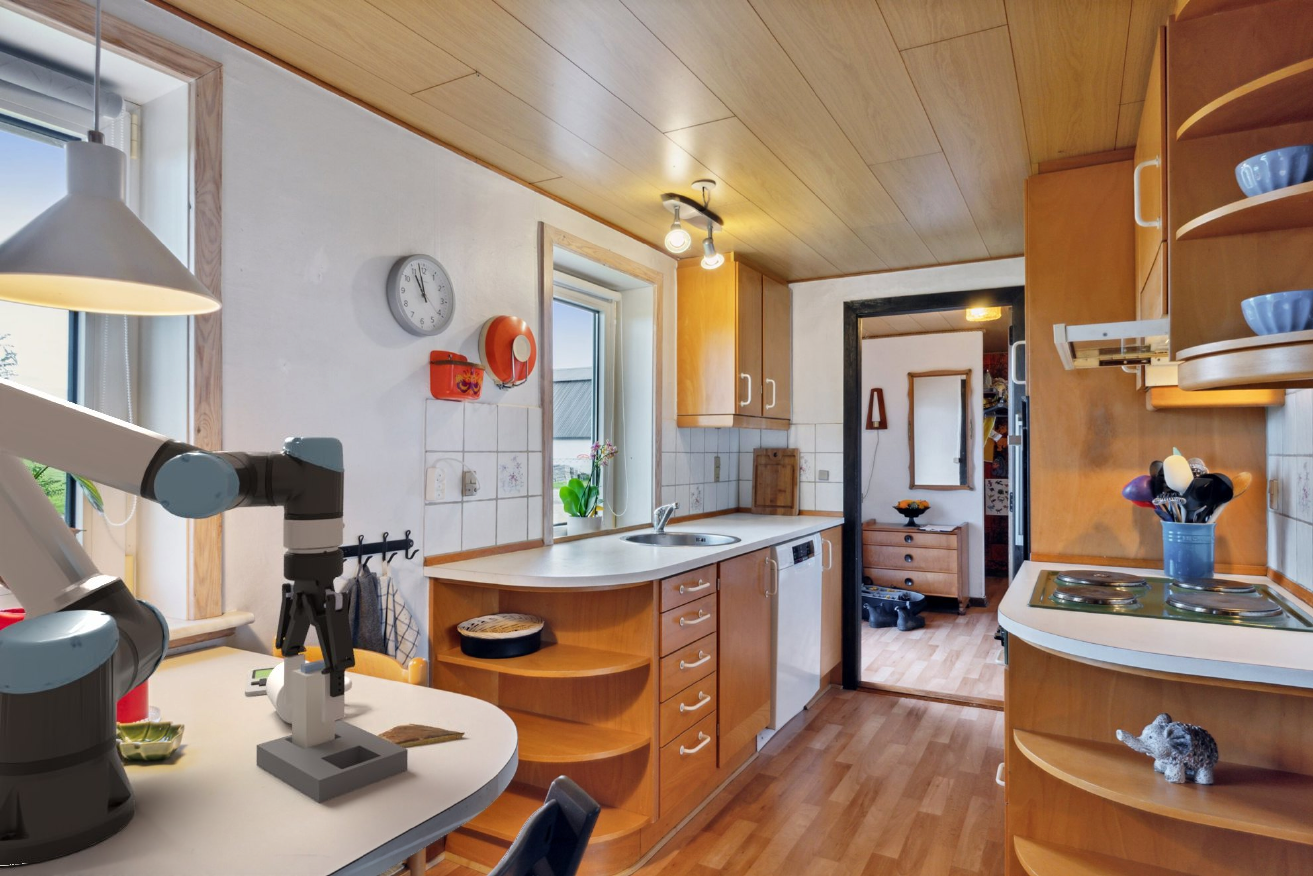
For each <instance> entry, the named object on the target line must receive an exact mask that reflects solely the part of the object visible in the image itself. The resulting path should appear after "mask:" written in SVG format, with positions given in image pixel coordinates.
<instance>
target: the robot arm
mask: <svg viewBox="0 0 1313 876" xmlns="http://www.w3.org/2000/svg"><path fill="white" fill-rule="evenodd" d="M283 442H284V445H283V447H282V450H276V451H243V450H242V451H240V450H239V451H231V450H229V451H227V450H223V451H221V450H206V449H204V448H202V447H201V448H200V447H199V446H195V445H192V444H189V443H186V442H184V441H181V440H177V439H175V438H172V437H170V436H166V435H164V434H160V433H157V432H155V431H152V430H149V429H147V428H144V427H142V426H141V427H140V426H138V425H135V424H133V423H129V422H126V421H124V420H121V419H119V418H115V417H112V416H109V415H107V414H104V413H101V412H98V411H96V410H92V409H89V408H88V407H84V406H81V405H78V404H75V403H74V402H69V401H67V400H65V399H62V398H58V397H56V396H52V395H50V394H47V393H45V392H42V391H38V390H36V389H33V388H30V387H27V386H24V385H22V384H18V383H17V382H13V381H10V380H8V379H5V378H3V377H2V378H1V377H0V578H1V579H2V580H3V582H4V583H5V585H6V586H7V587H8V588H9V591H10V592H11V593H12V594H13V595H14V597H15V599H16V601H17V602H18V603H19V604H20V605H21V607H22V608H23V611H24V613H25V615H24V617H23V620H19V621H17V622H14V623H12V624H10V625H8V626H5V627H4V628H2V629H1V630H0V865H10V864H11V865H12V864H14V865H15V864H22V863H29V864H35V863H39V861H40V862H44V861H47V860H51V859H52V860H53V859H55V858H59V857H63V856H65V855H68V854H72V853H75V852H77V851H80V850H83V849H86V848H88V847H91V846H93V845H95V844H97V843H99V842H101V841H103V840H107V838H109V837H111V836H113V835H114V834H116V833H117V832H119V831H120V830H122V829H123V828H124V827H125V826H126V825H128V823H130V822H131V821H132V819H133V817H134V814H135V794H134V793H135V791H134V789H133V787H132V786H133V785H131V782H130V779H129V777H128V774H127V772H126V769H125V767H124V765H123V763H122V760H121V757H120V756H119V753H118V749H117V728H118V727H117V723H118V722H117V717H118V716H117V713H118V711H117V710H118V709H117V707H118V705H117V704H118V702H119V701H120V700H121V699H122V698H123V697H125V696H126V695H128V693H129V694H130V692H131V691H132V690H134V689H136V688H138V687H140V686H141V685H143V684H144V683H145V682H147V681H148V680H149V678H150V677H151V676H153V674H155V671H156V670H157V669H158V668H159V666H160V665H161V663H162V662H163V660H164V659H165V657H166V655H167V652H168V649H169V645H170V628H169V625H168V622H167V620H166V618H165V616H164V615H163V613H162V612H161V610H159V609H158V608H157V607H156V606H155V605H153V604H152V603H150V602H148V601H145V600H144V599H143V600H142V599H139V598H136V597H134V594H133V593H132V592H131V591H130V589H129V587H128V586H127V585H126V583H125V581H123V579H122V578H121V577H120V576H116V575H111V574H110V575H109V574H104V573H102V572H100V570H99V568H98V567H97V565H96V564H95V562H93V560H92V558H91V557H90V556H89V554H88V553H87V552H86V550H85V549H84V547H83V546H82V544H81V543H80V541H79V539H78V538H77V537H76V536H75V534H74V533H73V531H72V529H71V528H70V527H69V525H68V524H67V522H66V520H65V519H64V518H63V517H62V515H61V514H60V513H59V510H57V508H56V506H54V504H53V502H52V501H51V499H50V498H49V496H48V495H47V494H46V492H45V491H44V490H43V488H42V487H41V485H40V484H39V482H38V481H37V479H36V478H35V477H34V475H33V474H32V473H31V471H30V469H29V468H28V466H27V464H26V463H25V462H24V460H27V461H31V462H33V463H36V464H39V465H43V466H45V467H49V468H51V469H53V470H54V469H55V470H57V471H60V472H64V473H67V474H70V475H73V476H75V477H76V476H77V477H79V478H81V479H86V480H88V481H91V482H94V483H97V484H100V485H104V486H107V487H110V488H112V489H116V490H119V491H122V492H126V493H128V494H131V495H134V496H137V497H140V498H143V499H146V500H148V501H151V502H152V503H153V502H154V503H156V504H159V505H161V507H162V508H163V509H164V510H166V512H168V513H169V514H171V515H174V516H176V517H179V518H184V519H193V520H201V519H208V518H211V517H214V516H217V515H219V514H221V513H223V512H227V511H230V510H234V509H237V508H257V507H258V508H260V507H261V508H262V507H283V512H284V513H283V523H282V525H283V526H282V527H283V534H282V535H283V537H282V538H283V541H282V542H283V543H282V545H283V548H285V549H287V551H285V553H284V554H283V578H284V579H286V580H287V581H291V582H286V583H282V585H281V604H280V612H279V616H278V617H279V618H278V625H277V630H276V638H275V646H274V648H275V649H276V650H281V651H280V653H281V655H282V657H283V662H284V704H285V705H288V704H292V671H293V670H298V669H301V664H305V660H306V654H305V653H306V652H307V651H308V649H307V648H306V646H305V641H306V639H307V637H308V636H307V635H308V633H309V629H310V626H312V627H314V628H315V632H316V635H317V640H318V645H319V648H320V650H321V651H320V652H321V654H322V660H324V663H325V667H326V668H325V669H324V670H322V671H321V673H322V722H324V723H327V722H330V721H334V720H335V721H336V720H337V721H338V720H340V719H344V718H345V697H346V696H345V695H346V694H345V693H346V692H345V677H346V673H345V672H346V670H348V669H350V668H354V667H355V666H356V658H355V657H356V656H355V650H354V645H353V644H354V643H353V639H352V632H351V625H350V619H349V611H348V608H349V607H348V606H349V605H348V603H349V596H348V592H347V591H344V592H343V591H342V592H336V589H335V583H334V581H335V579H336V578H339V577H340V576H341V577H342V575H343V574H344V551H343V550H342V548H339V547H341V546H342V545H343V544H344V529H345V525H346V524H345V522H344V501H345V499H344V498H345V497H344V496H345V495H344V491H345V468H344V467H345V466H344V451H343V443H342V442H341V441H340V439H338V438H335V437H332V436H331V437H327V436H324V437H323V436H317V437H316V436H314V437H313V436H310V437H309V436H308V437H306V436H305V437H303V436H301V437H297V436H296V437H295V436H290V437H287V438H286V439H285V440H284V441H283ZM23 459H24V460H23ZM304 652H305V653H304ZM34 862H35V863H34Z"/></svg>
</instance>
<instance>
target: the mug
mask: <svg viewBox="0 0 1313 876" xmlns="http://www.w3.org/2000/svg"><path fill="white" fill-rule="evenodd" d="M310 662H311V661H309V660H306V659H305V663H310ZM352 687H353V681H352V679H351V678H350V677H347V676H345V693H346V692H348V691H349V690H351V689H352ZM266 692H267V694H266V695H267V697H268V700H270V702H271V704H272V706H273V707H274V709H275V711H276V712H277V714H278V716H279V717H280V719H282V720H283V721H285V723H287V724H290V725H292V704H288V705H285V704H284V661H283V662H281V663H279V664H278V665H276V667H275V668H274V669H273V670H272V672H271V673H270V675H269V677H268V679H267V682H266Z"/></svg>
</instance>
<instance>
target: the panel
mask: <svg viewBox="0 0 1313 876" xmlns="http://www.w3.org/2000/svg"><path fill="white" fill-rule="evenodd" d="M256 766H257V767H258V768H260V769H262V770H263V771H265V772H267V773H268V774H269V775H272V776H273V777H274V778H277V779H278V780H280V781H281V782H283V783H285V784H286V785H287V786H288V785H289V786H290V787H291V788H293V789H294V790H296V791H298V792H299V793H302V794H303V795H305V796H307V797H308V798H310V799H311V800H312V801H315V803H316V802H317V803H318V804H321V803H323V802H326V801H329V800H331V799H335V798H337V797H340V796H342V795H345V794H348V793H350V792H353V791H356V790H359V789H362V788H364V787H366V786H369V785H372V784H375V783H377V782H380V781H382V780H385V779H388V778H391V777H394V776H396V775H399V774H401V773H404V772H407V771H408V749H407V748H406V747H401V746H398V745H396V744H394V743H392V742H390V741H387V740H385V739H383V738H381V737H378V735H376V734H373V733H372V732H369V731H367V730H365V729H362V728H360V727H358V726H357V725H356V726H355V725H354V724H352V723H350V722H347V721H345V720H342V719H341V720H340V719H339V720H337V721H335V739H334V740H331V741H328V742H324V743H321V744H318V745H315V746H312V747H308V748H305V749H302V748H300V747H298V746H296V745H294V744H293V743H292V734H290V735H285V736H283V737H279V738H276V739H273V740H269V741H265V742H262V743H259V744H256Z"/></svg>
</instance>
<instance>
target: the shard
mask: <svg viewBox="0 0 1313 876" xmlns="http://www.w3.org/2000/svg"><path fill="white" fill-rule="evenodd" d="M465 733H466V732H460V731H455V730H449V729H445V728H441V727H433V726H431V725H430V726H429V725H424V724H415V723H409V724H403V725H402V724H401V725H397V726H394V727H392V728H390V729H388V730H386V731H384V732H382V733H379V734H378V735H377V736H378V737H381V738H383V739H385V740H387V741H390V742H392V743H394V744H396V745H398V746H401V747H403V748H409V747H414V746H422V745H428V744H435V743H442V742H447V741H450V740H451V741H452V740H458V739H462V738H463V736H464V735H465Z"/></svg>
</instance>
